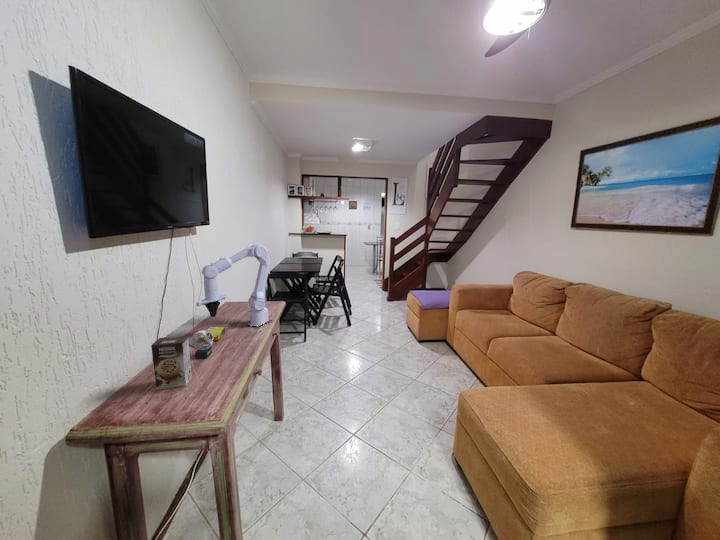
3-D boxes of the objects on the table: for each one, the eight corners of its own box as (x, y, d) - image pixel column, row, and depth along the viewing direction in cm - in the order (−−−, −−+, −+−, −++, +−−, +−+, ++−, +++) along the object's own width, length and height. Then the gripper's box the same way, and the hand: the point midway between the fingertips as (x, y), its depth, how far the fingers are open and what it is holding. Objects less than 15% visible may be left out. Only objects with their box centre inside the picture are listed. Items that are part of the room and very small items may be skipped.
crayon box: (209, 332, 133) (199, 342, 121) (209, 327, 132) (199, 336, 121) (225, 332, 134) (216, 342, 122) (225, 326, 133) (216, 336, 122)
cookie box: (155, 390, 88) (149, 345, 85) (163, 379, 94) (158, 337, 91) (186, 386, 90) (182, 342, 88) (192, 376, 97) (188, 334, 94)
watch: (212, 358, 109) (209, 333, 107) (190, 359, 108) (188, 334, 106) (216, 352, 115) (214, 328, 113) (196, 353, 113) (194, 329, 111)
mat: (210, 332, 135) (210, 331, 135) (223, 336, 130) (223, 335, 130) (182, 343, 122) (182, 342, 122) (196, 347, 118) (195, 346, 118)
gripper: (219, 286, 137) (220, 310, 139) (191, 292, 124) (193, 319, 126) (228, 287, 134) (230, 313, 136) (200, 294, 121) (203, 322, 123)
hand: (213, 316), depth 131 cm, fingers closed
